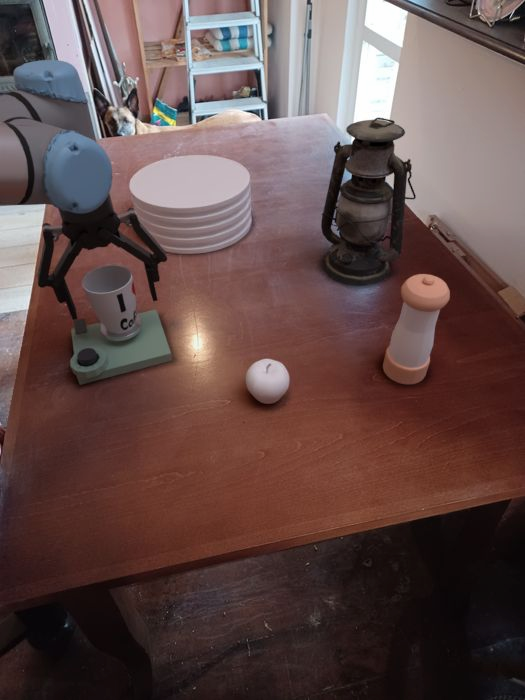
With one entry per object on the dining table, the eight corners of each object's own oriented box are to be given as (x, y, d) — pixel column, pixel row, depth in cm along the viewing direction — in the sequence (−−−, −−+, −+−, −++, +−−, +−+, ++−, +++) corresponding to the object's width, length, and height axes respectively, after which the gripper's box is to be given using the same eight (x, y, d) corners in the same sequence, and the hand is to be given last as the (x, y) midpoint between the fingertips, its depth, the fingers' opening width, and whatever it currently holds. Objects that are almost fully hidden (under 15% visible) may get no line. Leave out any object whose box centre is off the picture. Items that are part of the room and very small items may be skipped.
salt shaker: (388, 349, 86) (410, 258, 72) (429, 361, 83) (459, 270, 70) (377, 376, 81) (398, 285, 68) (420, 390, 79) (450, 298, 65)
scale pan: (77, 351, 82) (76, 348, 81) (74, 321, 87) (72, 318, 87) (145, 335, 84) (144, 331, 84) (137, 306, 90) (136, 303, 90)
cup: (129, 343, 82) (115, 297, 75) (88, 334, 84) (71, 288, 77) (151, 314, 87) (141, 269, 80) (113, 306, 89) (99, 261, 82)
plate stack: (122, 249, 111) (110, 203, 103) (159, 194, 131) (151, 152, 123) (239, 258, 108) (237, 211, 100) (259, 200, 127) (259, 157, 119)
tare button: (80, 368, 79) (77, 362, 78) (78, 356, 81) (76, 350, 80) (98, 364, 80) (96, 357, 79) (96, 352, 82) (94, 345, 81)
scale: (77, 389, 80) (71, 375, 78) (71, 337, 89) (65, 323, 87) (173, 364, 84) (170, 350, 81) (158, 316, 93) (155, 302, 91)
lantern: (301, 266, 105) (308, 124, 84) (345, 230, 116) (360, 95, 95) (378, 297, 96) (407, 147, 76) (418, 255, 107) (452, 113, 86)
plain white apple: (269, 418, 75) (269, 385, 69) (237, 395, 78) (235, 361, 73) (298, 393, 79) (300, 359, 73) (266, 372, 82) (266, 338, 77)
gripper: (-16, 216, 62) (39, 336, 77) (172, 184, 68) (190, 301, 83) (-14, 191, 67) (38, 309, 82) (162, 163, 73) (180, 278, 88)
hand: (115, 305), depth 82 cm, fingers open, 13 cm apart
